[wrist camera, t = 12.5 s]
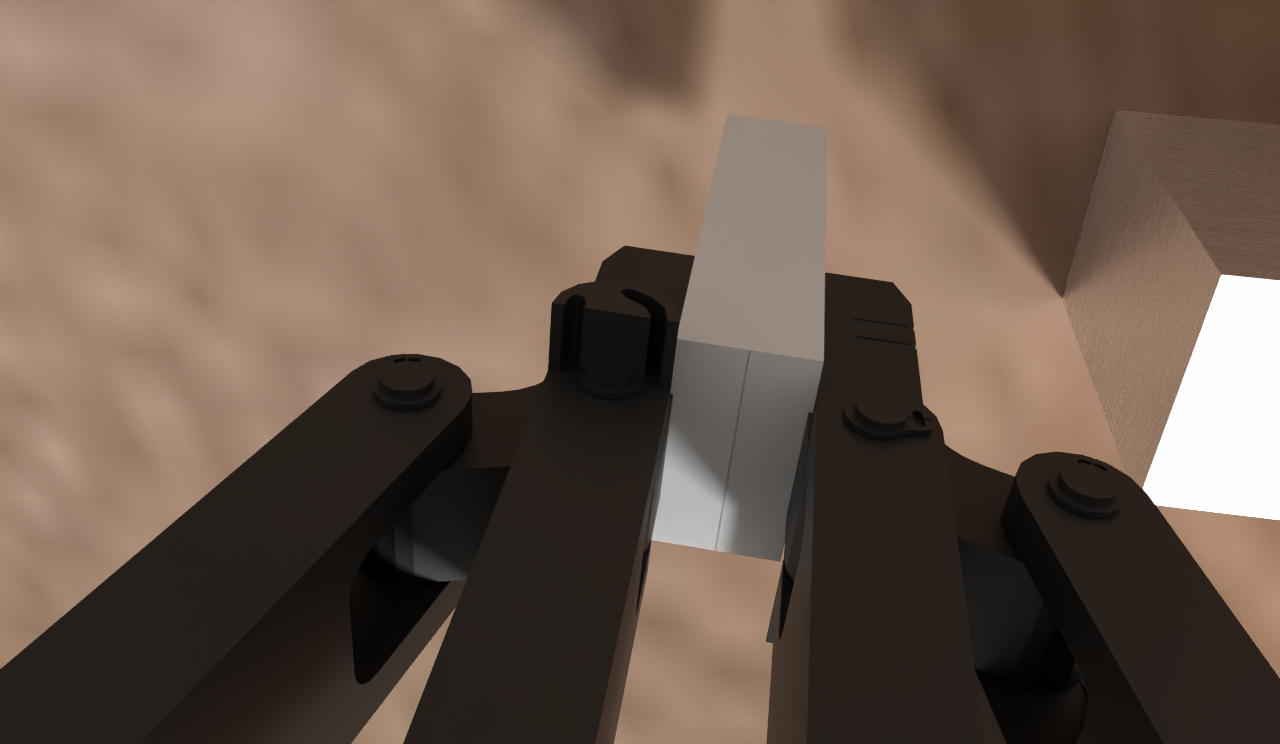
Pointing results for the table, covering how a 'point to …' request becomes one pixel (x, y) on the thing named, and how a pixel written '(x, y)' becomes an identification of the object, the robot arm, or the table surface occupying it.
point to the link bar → (1186, 307)
